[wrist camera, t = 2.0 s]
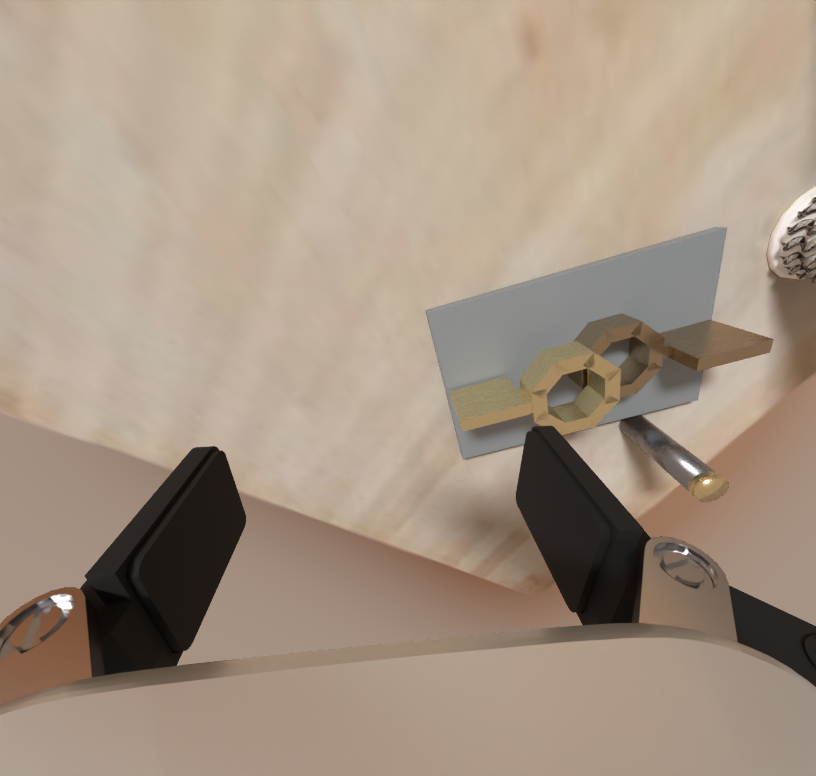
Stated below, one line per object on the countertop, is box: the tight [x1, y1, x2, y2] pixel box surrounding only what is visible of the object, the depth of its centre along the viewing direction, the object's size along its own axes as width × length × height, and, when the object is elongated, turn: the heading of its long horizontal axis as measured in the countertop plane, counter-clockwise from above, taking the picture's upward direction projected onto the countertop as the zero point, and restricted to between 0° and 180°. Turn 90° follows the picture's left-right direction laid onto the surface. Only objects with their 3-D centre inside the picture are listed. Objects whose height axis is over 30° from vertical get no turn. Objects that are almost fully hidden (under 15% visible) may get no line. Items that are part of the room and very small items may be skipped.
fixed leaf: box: [568, 313, 773, 398], centre depth 30 cm, size 14×8×6 cm, turn 105°
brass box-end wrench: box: [449, 341, 621, 435], centre depth 31 cm, size 14×8×6 cm, turn 105°
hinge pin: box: [619, 415, 729, 502], centre depth 34 cm, size 3×3×11 cm
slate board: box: [426, 227, 727, 459], centre depth 34 cm, size 27×18×1 cm, turn 105°
